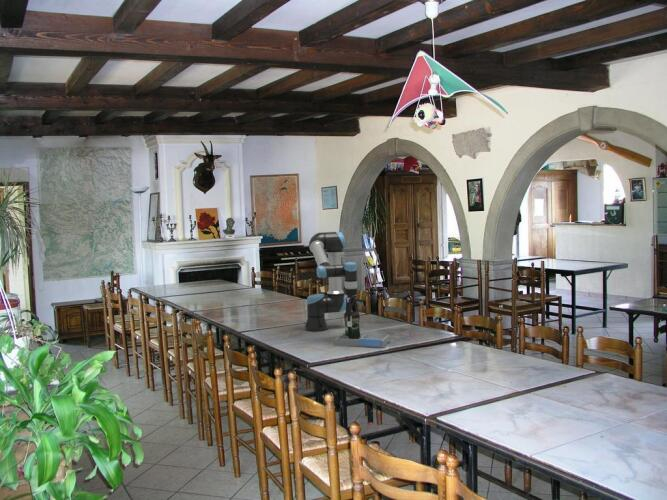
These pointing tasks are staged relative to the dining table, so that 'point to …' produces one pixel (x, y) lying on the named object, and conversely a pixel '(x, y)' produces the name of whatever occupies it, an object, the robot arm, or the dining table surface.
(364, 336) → the divided storage rack
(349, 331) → the coffee jar
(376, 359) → the dining table surface
